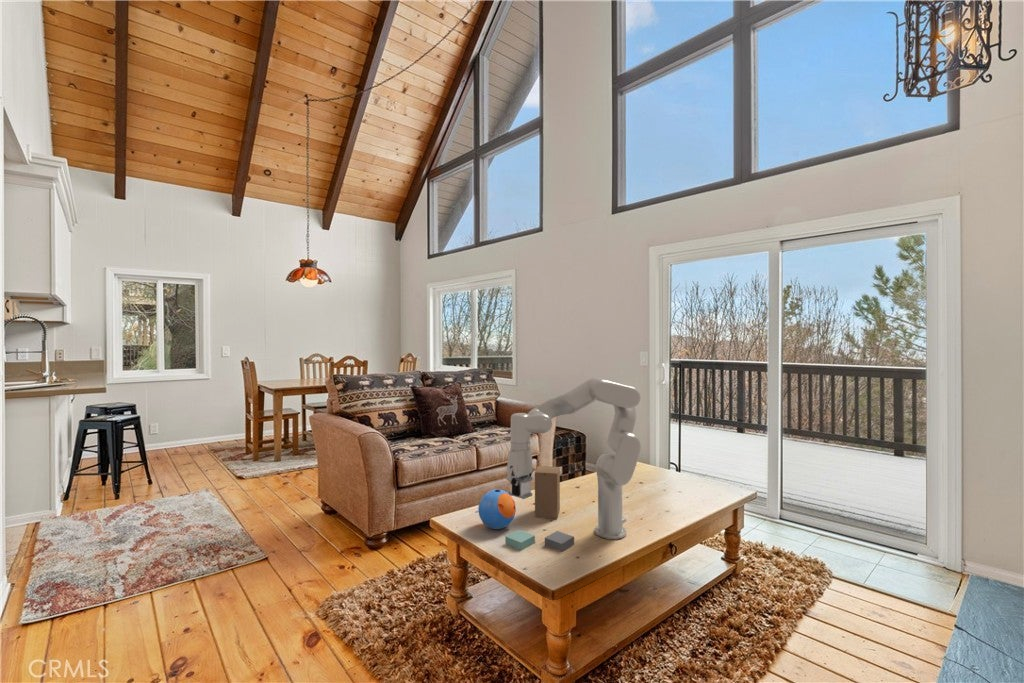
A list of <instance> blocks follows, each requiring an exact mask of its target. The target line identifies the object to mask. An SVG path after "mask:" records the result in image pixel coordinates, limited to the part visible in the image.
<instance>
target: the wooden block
mask: <svg viewBox="0 0 1024 683" xmlns="http://www.w3.org/2000/svg"><path fill="white" fill-rule="evenodd" d="M560 470H561V468H560V467H559V466H549V465H548V466H546V465H545V466H544V465H538V466H537V467H536V470H534V471H535V472H534V517H535V518H541V519H543V518H544V519H555V520H557V519H558V517H559V514H560V512H561V502H560V501H561V495H560V494H561V492H560V491H561V489H560V488H561V484H560V483H561V479H560V477H561V475H560V473H561V471H560Z"/></svg>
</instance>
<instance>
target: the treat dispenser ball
mask: <svg viewBox="0 0 1024 683" xmlns="http://www.w3.org/2000/svg"><path fill="white" fill-rule="evenodd" d="M516 511H517V508H516V502H515V500H514V498H513V496H512V495H509V492H507V491H505V490H502V489H491V490H489V491H487V492H486V493H485V494H484V495H483V496H482V497H481V499H480V501H479V503H478V516H479V518H480V521H481V522H482V523H483V525H484V526H486V527H488V528H490V529H493V530H501V529H504V528H506V527H507V526H509V525H510V524H511V523H512V521H513V520H514V518H515V516H516V513H517V512H516Z"/></svg>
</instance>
